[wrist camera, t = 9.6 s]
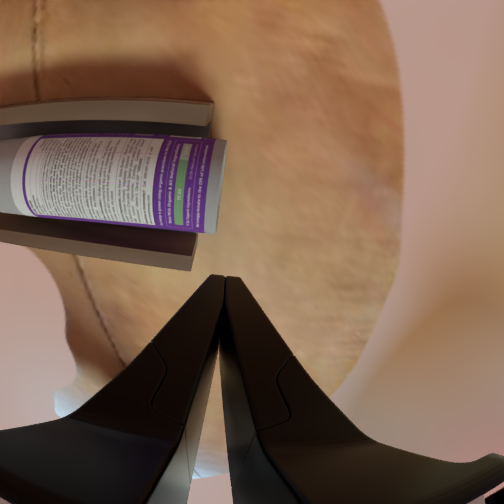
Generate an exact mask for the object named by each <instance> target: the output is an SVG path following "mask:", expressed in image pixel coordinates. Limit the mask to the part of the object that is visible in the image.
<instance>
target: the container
mask: <svg viewBox="0 0 504 504" xmlns="http://www.w3.org/2000/svg"><path fill="white" fill-rule="evenodd" d="M226 150H227V140H220V139H212V138H202V137H190V136H176V135H160V134H137V133H72V134H50V135H40V136H31V137H23V138H15V139H8V140H1V141H0V212H2V213H10V214H18V215H27V216H35V217H43V218H55V219H66V220H77V221H88V222H99V223H109V224H120V225H130V226H140V227H150V228H160V229H170V230H180V231H189V232H199V233H210V234H216V230H217V223H218V215H219V208H220V200H221V192H222V184H223V175H224V167H225V159H226Z"/></svg>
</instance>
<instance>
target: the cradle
mask: <svg viewBox="0 0 504 504" xmlns="http://www.w3.org/2000/svg"><path fill="white" fill-rule="evenodd" d="M213 109H214V102H205V101H195V100H183V99H169V98H150V97H86V98H67V99H54V100H43V101H34V102H26V103H19V104H12V105H5V106H0V141H1V140H8V139H15V138H23V137H31V136H40V135H50V134H72V133H137V134H160V135H176V136H190V137H202V138H209V136H210V129H211V122H212V115H213ZM197 239H198V232H189V231H180V230H170V229H160V228H150V227H140V226H130V225H120V224H109V223H99V222H88V221H77V220H66V219H55V218H43V217H35V216H27V215H18V214H10V213H2V212H0V242H4V243H10V244H16V245H21V246H27V247H33V248H38V249H44V250H50V251H56V252H62V253H68V254H75V255H81V256H87V257H94V258H100V259H107V260H113V261H120V262H127V263H134V264H141V265H148V266H155V267H162V268H169V269H176V270H184V271H191V268H192V263H193V259H194V255H195V251H196V247H197Z"/></svg>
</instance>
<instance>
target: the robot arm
mask: <svg viewBox="0 0 504 504" xmlns="http://www.w3.org/2000/svg"><path fill="white" fill-rule="evenodd" d="M218 348H219V361H220V375H221V388H222V400H223V411H224V422H225V433H226V443H227V453H228V462H229V471H230V480H231V487H232V496H233V504H504V487H503V488H501V489H499V490H497V491H496V492H494V493H493V494H491V495H489V496H487V497H486V498H484V495H483V494H485V493H487V492H488V491H490V490H491V489H493V488H495V487H496V486H498V485H499V484H501V483H502V482H504V456H502V455H498V454H495V453H491V454H488V455H486V456H484V457H482V458H480V459H478V460H476V461H472V462H466V463H454V462H448V461H443V460H438V459H434V458H430V457H426V456H423V455H419V454H415V453H411V452H408V451H405V450H401V449H398V448H394V447H391V446H388V445H385V444H382V443H379V442H377V441H375V440H373V439H371V438H370V437H368V436H367V435H365V434H364V433H363V432H362V431H360V430H359V429H358V428H357V427H356V426H355V425H354V424H353V423H352V422H351V421H350V420H349V419H348V418H347V416H346V415H345V414H343V412H342V411H340V409H339V408H338V407H337V406H336V405H335V404H334V403H333V402H332V401H331V400H330V399H329V398H328V396H327V395H326V394H325V393H324V392H323V391H322V390H321V389H320V388H319V386H318V385H317V384H316V383H315V382H314V381H313V380H312V378H311V377H310V376H309V374H308V373H307V372H306V370H305V369H304V368H303V367H302V365H301V364H300V362H299V361H298V360H297V358H296V357H295V356H293V353H292V351H291V350H290V348H289V347H288V346H287V344H286V343H285V341H284V340H283V339H282V337H281V336H280V334H279V333H278V331H277V330H276V329H275V327H274V326H273V324H272V323H271V321H270V320H269V318H268V317H267V316H266V314H265V313H264V311H263V310H262V308H261V307H260V305H259V304H258V303H257V301H256V300H255V298H254V297H253V295H252V294H251V292H250V291H249V289H248V288H247V287H246V285H245V284H244V282H243V281H242V279H241V278H240V277H233V276H227V277H226V278H225V276H223V275H214V274H211V275H210V276H209V277H208V278H207V279H206V280H205V281H204V282H203V283H202V285H201V286H200V287H199V288H198V289H197V290H196V291H195V292H194V293H193V295H192V296H191V297H190V298H189V299H188V300H187V301H186V302H185V303H184V305H183V306H182V307H181V308H180V309H179V310H178V311H177V312H176V313H175V315H174V316H173V317H172V318H171V319H170V320H169V321H168V322H167V324H166V325H165V326H164V327H163V328H162V329H161V330H160V331H159V333H158V334H157V335H156V336H155V337H154V338H153V339H152V340H151V342H150V343H149V344H148V345H147V346H146V347H145V348H144V349H143V350H142V352H141V353H140V354H139V355H138V356H137V357H136V358H135V359H134V360H133V361H132V362H131V363H130V364H129V365H128V366H127V367H126V368H125V369H124V370H123V371H121V372H120V373H119V374H118V375H117V376H116V377H115V378H114V379H112V380H111V381H110V382H109V383H108V384H107V385H105V386H104V387H103V388H102V389H101V390H100V391H98V392H97V393H96V394H95V395H94V396H93V397H91V398H90V399H89V400H88V401H87V402H86V403H84V404H83V405H82V406H81V407H80V408H78V409H77V410H76V411H74V412H73V413H71V414H69V415H67V416H65V417H63V418H60V419H57V420H53V421H49V422H44V423H39V424H34V425H29V426H23V427H18V428H12V429H6V430H0V504H187V500H188V495H189V490H190V484H191V480H192V475H193V470H194V465H195V460H196V455H197V450H198V445H199V440H200V435H201V431H202V426H203V421H204V416H205V411H206V407H207V402H208V397H209V392H210V388H211V383H212V378H213V373H214V369H215V364H216V359H217V354H218Z"/></svg>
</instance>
